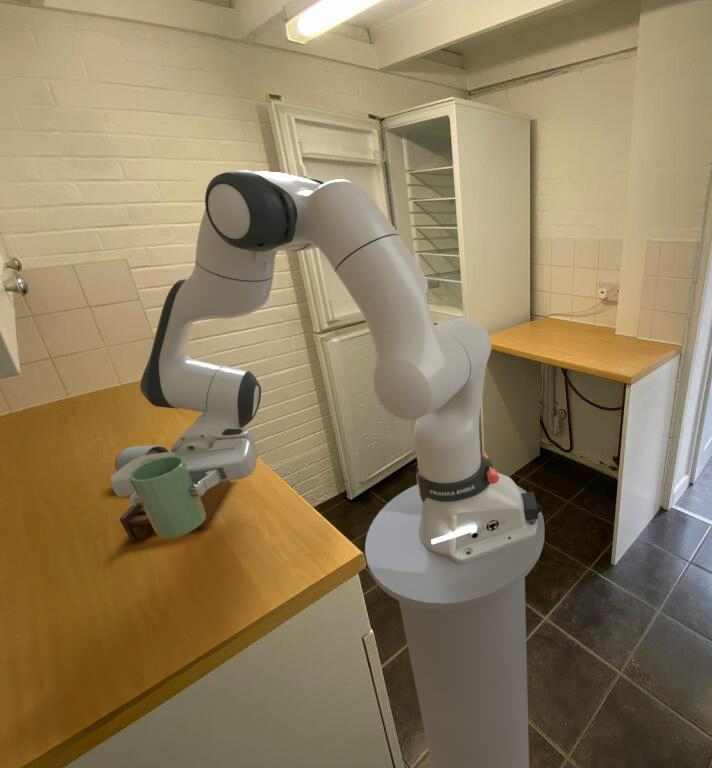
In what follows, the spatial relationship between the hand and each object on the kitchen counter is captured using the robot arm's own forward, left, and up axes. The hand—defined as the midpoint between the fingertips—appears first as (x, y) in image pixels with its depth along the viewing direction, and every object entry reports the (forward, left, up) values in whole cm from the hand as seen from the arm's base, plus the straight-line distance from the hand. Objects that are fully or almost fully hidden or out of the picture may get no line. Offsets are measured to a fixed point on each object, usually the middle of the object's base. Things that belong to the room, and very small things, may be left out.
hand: (166, 497), depth 65 cm
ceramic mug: (+26, -37, -17) cm, 48 cm away
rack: (+11, -21, -17) cm, 29 cm away
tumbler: (0, -1, -6) cm, 6 cm away
